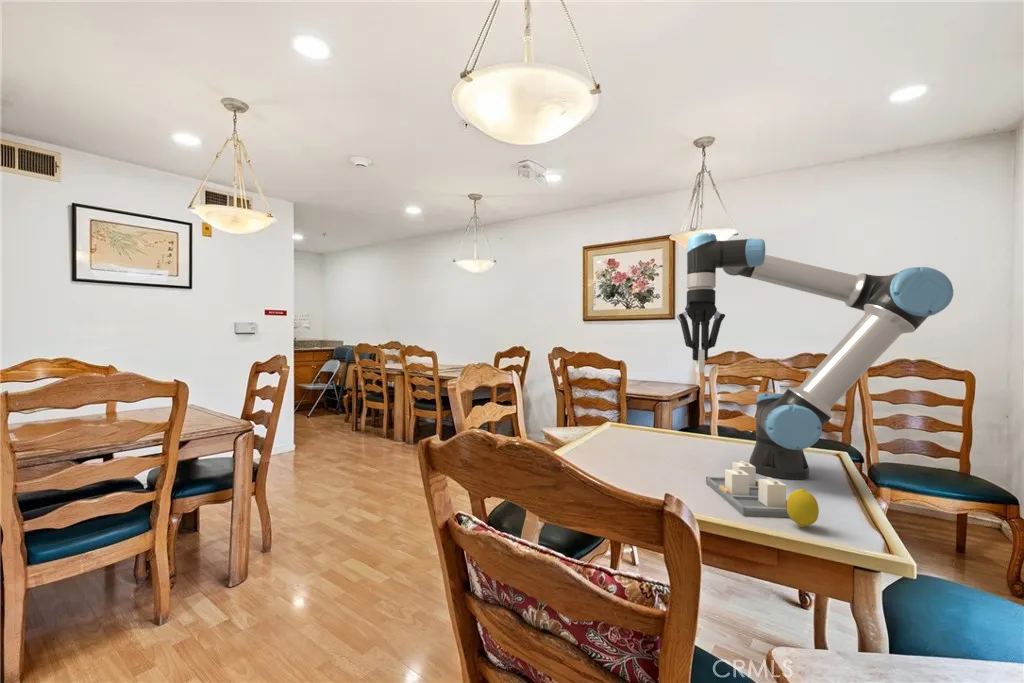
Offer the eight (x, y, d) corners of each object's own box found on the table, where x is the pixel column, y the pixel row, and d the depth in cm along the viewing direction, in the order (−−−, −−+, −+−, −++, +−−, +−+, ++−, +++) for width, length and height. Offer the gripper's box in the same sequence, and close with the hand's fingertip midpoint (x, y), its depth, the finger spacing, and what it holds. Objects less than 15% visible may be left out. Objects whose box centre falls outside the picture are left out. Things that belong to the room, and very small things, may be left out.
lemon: (808, 535, 86) (809, 495, 86) (780, 524, 91) (781, 486, 91) (824, 530, 89) (824, 490, 89) (796, 520, 94) (796, 482, 94)
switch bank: (748, 484, 117) (748, 475, 117) (795, 517, 95) (795, 506, 95) (705, 483, 118) (706, 473, 118) (743, 515, 96) (743, 504, 96)
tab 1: (748, 481, 115) (748, 460, 115) (755, 486, 111) (755, 464, 111) (732, 481, 115) (732, 459, 115) (739, 486, 111) (739, 464, 111)
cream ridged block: (741, 490, 108) (741, 467, 108) (749, 495, 104) (749, 472, 104) (724, 489, 109) (725, 467, 109) (731, 495, 105) (732, 471, 105)
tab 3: (776, 501, 101) (776, 476, 101) (785, 507, 97) (786, 482, 97) (758, 500, 101) (758, 476, 101) (767, 507, 97) (767, 481, 97)
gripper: (719, 291, 128) (718, 371, 128) (673, 290, 129) (672, 371, 129) (730, 288, 120) (729, 373, 120) (681, 287, 121) (680, 372, 121)
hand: (699, 372), depth 125 cm, fingers closed
